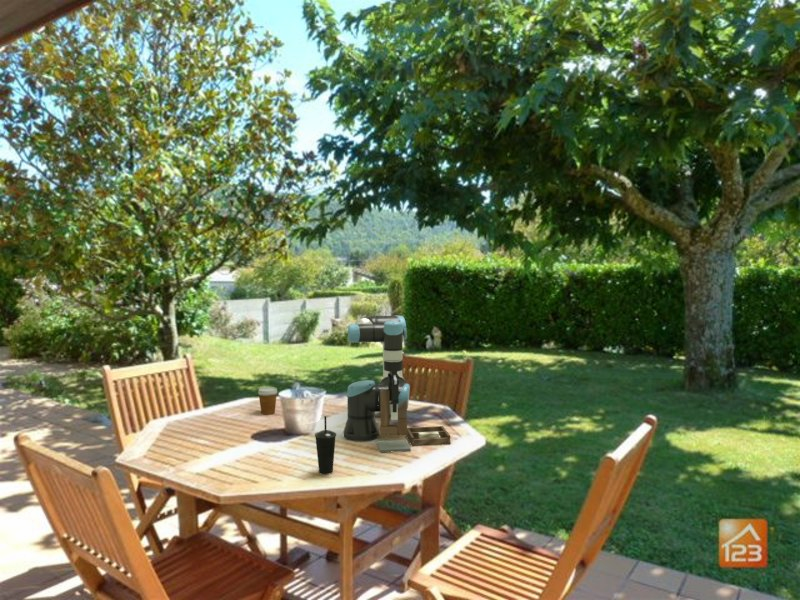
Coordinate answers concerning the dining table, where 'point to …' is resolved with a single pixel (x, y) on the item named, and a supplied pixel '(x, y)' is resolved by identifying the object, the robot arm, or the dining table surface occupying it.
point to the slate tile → (393, 446)
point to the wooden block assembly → (385, 418)
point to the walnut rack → (415, 441)
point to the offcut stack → (428, 435)
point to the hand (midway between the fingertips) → (393, 418)
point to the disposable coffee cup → (267, 400)
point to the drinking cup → (325, 449)
